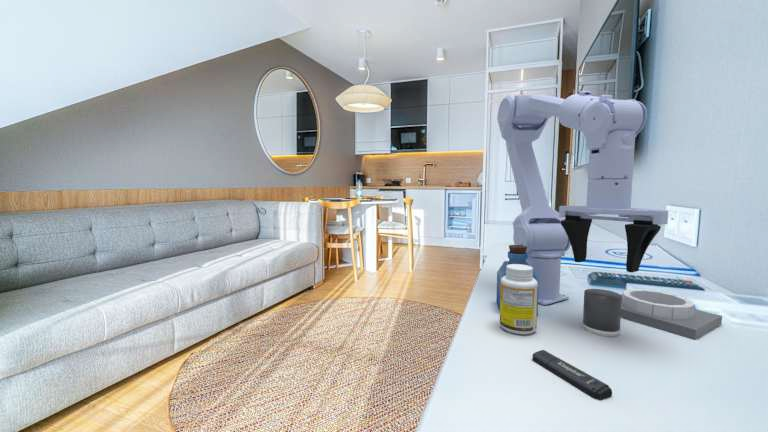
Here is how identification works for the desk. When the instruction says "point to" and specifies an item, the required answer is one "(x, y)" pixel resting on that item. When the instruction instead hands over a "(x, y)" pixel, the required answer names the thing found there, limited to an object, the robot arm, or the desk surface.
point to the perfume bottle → (515, 257)
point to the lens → (602, 312)
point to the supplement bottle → (518, 300)
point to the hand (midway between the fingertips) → (604, 266)
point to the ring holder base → (667, 313)
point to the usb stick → (573, 375)
